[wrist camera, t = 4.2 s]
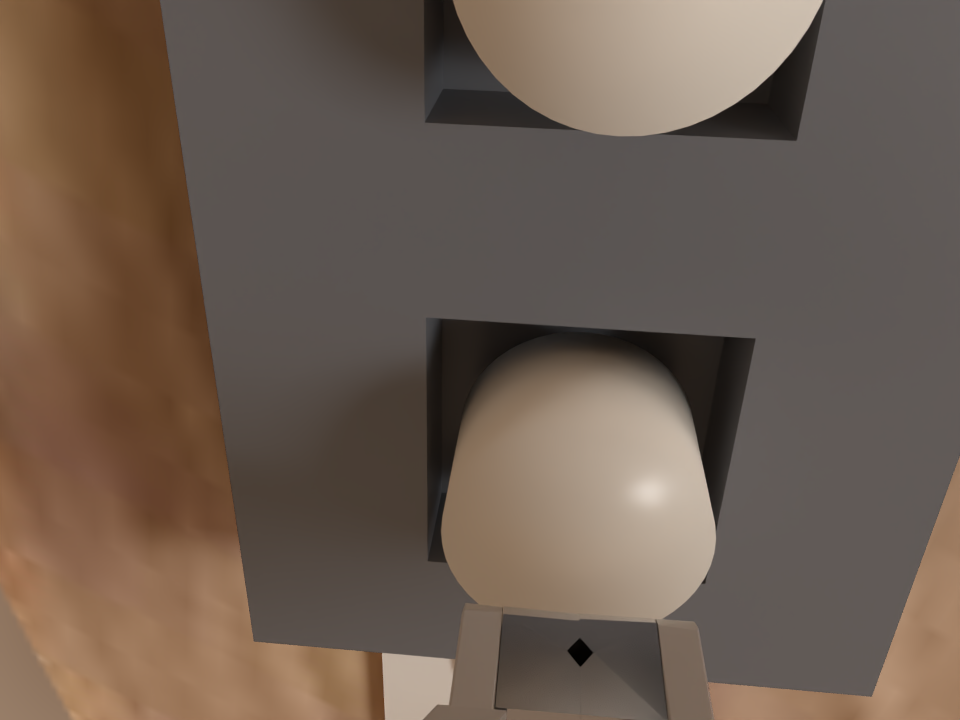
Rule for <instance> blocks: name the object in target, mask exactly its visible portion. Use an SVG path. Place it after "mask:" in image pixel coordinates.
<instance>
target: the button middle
mask: <svg viewBox="0 0 960 720" xmlns="http://www.w3.org/2000/svg"><path fill="white" fill-rule="evenodd" d="M453 2H454V6H455V9H456V12H457V15H458V17H459V19H460V22H461V24H462V26H463V29H464V31H465V33H466V35H467V37H468V39H469V41H470V42H471V44H472V46H473V47H474V49H475V51H476V52H477V54H478V56H479V57H480V59H481V60H482V61H483V63H484V64H485V65H486V66H487V68H488V69H489V70H490V72H491V73H492V74H493V75H494V77H495V78H496V79H497V80H498V81H499V82H500V83H501V84H502V85H503V86H504V87H505V88H507V89H508V90H509V91H510V92H511V93H512V94H513V95H514V96H515V97H517V98H518V99H519V100H521V101H522V102H523V103H525V104H526V105H527V106H529V107H530V108H532V109H533V110H535V111H537V112H539V113H541V114H542V115H544V116H546V117H548V118H549V119H551V120H554V121H556V122H559V123H561V124H564V125H566V126H569V127H571V128H574V129H578V130H582V131H586V132H590V133H594V134H602V135H611V136H646V135H653V134H660V133H666V132H670V131H674V130H677V129H681V128H684V127H688V126H691V125H693V124H696V123H698V122H701V121H703V120H706V119H708V118H710V117H713V116H714V115H716V114H718V113H720V112H722V111H723V110H725V109H727V108H729V107H731V106H732V105H734V104H736V103H737V102H738V101H740V100H741V99H742V98H744V97H745V96H747V95H748V94H749V93H751V92H752V91H754V90H755V89H756V88H757V87H758V86H759V85H761V84H762V83H763V82H764V81H765V80H766V79H767V78H768V77H769V76H770V75H771V74H773V73H774V72H775V71H776V70H777V68H778V67H779V66H780V65H781V64H782V63H783V62H784V60H785V59H786V58H787V57H788V56H789V55H790V53H791V52H792V51H793V50H794V48H795V47H796V45H797V44H798V43H799V41H800V40H801V38H802V37H803V35H804V34H805V32H806V31H807V30H808V28H809V26H810V24H811V23H812V21H813V19H814V17H815V15H816V13H817V11H818V10H819V8H820V6H821V4H822V2H823V0H453Z"/></svg>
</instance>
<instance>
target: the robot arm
mask: <svg viewBox="0 0 960 720" xmlns="http://www.w3.org/2000/svg"><path fill="white" fill-rule="evenodd" d="M423 720H714V715H713V710H712V704H711V698H710V692H709V686H708V681H707V675H706V669H705V663H704V657H703V652H702V646H701V640H700V634H699V629H698V627H697V625H696V624H695V622H693V621H679V620H665V619H655V620H654V619H651V618H637V617H622V616H608V615H594V614H580V613H578V614H573V613H564V612H554V611H545V610H535V609H526V608H516V607H507V606H504V612H503V607H499V606H490V605H480V604H471V603H465V605H464V608H463V611H462V616H461V623H460V630H459V637H458V644H457V651H456V658H455V665H454V672H453V679H452V686H451V693H450V700H449V705H439V704H437V705H436V706H435V707H434V708H433V709H432V711H431V712H430V713H429V714H428V715H427V716H426V717H425V718H424V719H423Z"/></svg>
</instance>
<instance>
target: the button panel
mask: <svg viewBox="0 0 960 720" xmlns="http://www.w3.org/2000/svg"><path fill="white" fill-rule="evenodd" d="M160 4H161V11H162V18H163V25H164V32H165V39H166V45H167V52H168V59H169V66H170V73H171V80H172V86H173V93H174V100H175V107H176V114H177V120H178V127H179V134H180V141H181V148H182V155H183V161H184V168H185V175H186V182H187V189H188V195H189V202H190V209H191V216H192V223H193V230H194V236H195V243H196V250H197V257H198V264H199V271H200V277H201V284H202V291H203V298H204V305H205V311H206V318H207V325H208V332H209V339H210V346H211V352H212V359H213V366H214V373H215V380H216V387H217V393H218V400H219V407H220V414H221V421H222V427H223V434H224V441H225V448H226V455H227V462H228V468H229V475H230V482H231V489H232V496H233V502H234V509H235V516H236V523H237V530H238V537H239V543H240V550H241V557H242V564H243V571H244V578H245V584H246V591H247V598H248V605H249V612H250V618H251V625H252V632H253V639H254V641H255V642H266V643H277V644H289V645H300V646H311V647H322V648H333V649H345V650H356V651H367V652H378V653H389V654H400V655H412V656H423V657H434V658H445V659H455V658H456V651H457V644H458V637H459V630H460V623H461V616H462V611H463V608H464V605H465V603H471V604H478V603H477V602H476V601H475V600H474V599H473V598H472V597H470V596H469V595H468V594H467V593H466V591H465V590H464V589H463V588H462V586H461V585H460V584H459V583H458V581H457V580H456V578H455V576H454V575H453V573H452V571H451V570H450V567H449V565H448V562H447V560H446V558H445V554H444V550H443V546H442V536H441V526H442V516H443V511H444V506H445V501H446V496H447V491H448V486H449V481H450V475H451V470H452V465H453V460H454V455H455V450H456V445H457V440H458V435H459V429H460V424H461V419H462V414H463V410H464V406H465V402H466V399H467V397H468V395H469V392H470V390H471V388H472V386H473V385H474V383H475V382H476V380H477V378H478V377H479V376H480V375H481V373H482V372H483V371H484V370H485V369H486V368H487V367H488V366H489V365H490V364H491V363H492V362H493V361H494V360H495V359H497V358H498V357H499V356H501V355H502V354H504V353H505V352H507V351H508V350H510V349H511V348H513V347H515V346H517V345H519V344H521V343H523V342H526V341H529V340H532V339H535V338H537V337H541V336H546V335H550V334H556V333H565V332H588V333H597V334H603V335H607V336H611V337H615V338H619V339H621V340H624V341H627V342H629V343H632V344H634V345H636V346H638V347H640V348H642V349H644V350H645V351H647V352H648V353H650V354H651V355H653V356H654V357H655V358H657V359H658V360H659V361H660V362H661V363H663V364H664V365H665V366H666V367H667V368H668V369H669V370H670V371H671V373H672V374H673V375H674V376H675V377H676V379H677V380H678V382H679V383H680V385H681V387H682V388H683V390H684V392H685V394H686V397H687V399H688V402H689V404H690V408H691V413H692V417H693V422H694V427H695V431H696V436H697V441H698V446H699V450H700V455H701V460H702V464H703V469H704V474H705V479H706V483H707V488H708V493H709V498H710V502H711V507H712V512H713V517H714V521H715V529H716V544H715V552H714V556H713V559H712V563H711V566H710V568H709V570H708V572H707V574H706V576H705V578H704V580H703V581H702V583H701V584H700V586H699V587H698V589H697V590H696V591H695V592H694V593H693V595H692V596H691V597H690V598H689V599H688V600H687V601H686V602H685V603H684V604H682V605H681V606H680V607H679V608H677V609H676V610H675V611H674V612H672V613H671V614H669V615H667V616H666V617H664V618H663V619H665V620H679V621H693V622H695V624H696V625H697V627H698V629H699V634H700V640H701V646H702V652H703V657H704V663H705V669H706V675H707V681H708V682H714V683H725V684H736V685H747V686H758V687H770V688H781V689H792V690H803V691H814V692H826V693H837V694H848V695H859V696H870V697H872V694H873V692H874V689H875V686H876V683H877V681H878V678H879V675H880V672H881V670H882V667H883V664H884V661H885V659H886V656H887V653H888V651H889V648H890V645H891V642H892V640H893V637H894V634H895V631H896V629H897V626H898V623H899V620H900V618H901V615H902V612H903V609H904V607H905V604H906V601H907V599H908V596H909V593H910V590H911V588H912V585H913V582H914V579H915V577H916V574H917V571H918V568H919V566H920V563H921V560H922V557H923V555H924V552H925V549H926V546H927V544H928V541H929V538H930V536H931V533H932V530H933V527H934V525H935V522H936V519H937V516H938V514H939V511H940V508H941V505H942V503H943V500H944V497H945V494H946V492H947V489H948V486H949V484H950V481H951V478H952V475H953V473H954V470H955V467H956V464H957V462H958V459H959V456H960V0H823V2H822V4H821V6H820V8H819V10H818V11H817V13H816V15H815V17H814V19H813V21H812V23H811V24H810V26H809V28H808V30H807V31H806V32H805V34H804V35H803V37H802V38H801V40H800V41H799V43H798V44H797V45H796V47H795V48H794V50H793V51H792V52H791V53H790V55H789V56H788V57H787V58H786V59H785V60H784V62H783V63H782V64H781V65H780V66H779V67H778V68H777V70H776V71H775V72H774V73H773V74H771V75H770V76H769V77H768V78H767V79H766V80H765V81H764V82H763V83H762V84H761V85H759V86H758V87H757V88H756V89H755V90H754V91H752V92H751V93H749V94H748V95H747V96H745V97H744V98H742V99H741V100H740V101H738V102H737V103H736V104H734V105H732V106H731V107H729V108H727V109H725V110H723V111H722V112H720V113H718V114H716V115H714V116H713V117H710V118H708V119H706V120H703V121H701V122H698V123H696V124H693V125H691V126H688V127H684V128H681V129H677V130H674V131H670V132H666V133H660V134H653V135H646V136H611V135H602V134H594V133H590V132H586V131H582V130H578V129H574V128H571V127H569V126H566V125H564V124H561V123H559V122H556V121H554V120H551V119H549V118H548V117H546V116H544V115H542V114H541V113H539V112H537V111H535V110H533V109H532V108H530V107H529V106H527V105H526V104H525V103H523V102H522V101H521V100H519V99H518V98H517V97H515V96H514V95H513V94H512V93H511V92H510V91H509V90H508V89H507V88H505V87H504V86H503V85H502V84H501V83H500V82H499V81H498V80H497V79H496V78H495V77H494V75H493V74H492V73H491V72H490V70H489V69H488V68H487V66H486V65H485V64H484V63H483V61H482V60H481V59H480V57H479V56H478V54H477V52H476V51H475V49H474V47H473V46H472V44H471V42H470V41H469V39H468V37H467V35H466V33H465V31H464V29H463V26H462V24H461V22H460V19H459V17H458V15H457V12H456V9H455V6H454V2H453V0H160Z"/></svg>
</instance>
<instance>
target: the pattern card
mask: <svg viewBox="0 0 960 720" xmlns="http://www.w3.org/2000/svg"><path fill="white" fill-rule="evenodd" d="M382 663H383V685H384V708H385V720H423V719H424V718H425V717H426V716H427V715H428V714H429V713H430V712H431V711H432V709H433V708H434V707H435V706H436V705H437V704H439V705H449V700H450V693H451V686H452V679H453V672H454V665H455V659H445V658H434V657H423V656H412V655H400V654H389V653H382Z"/></svg>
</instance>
